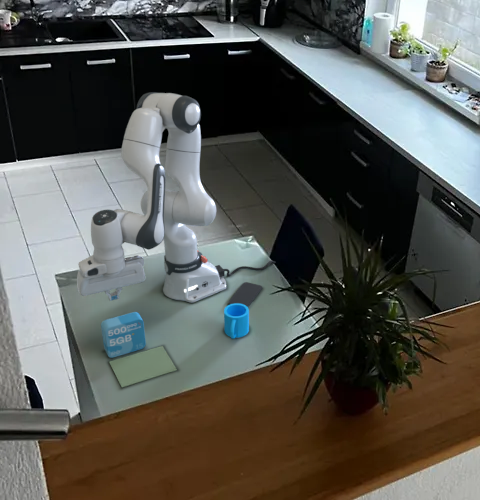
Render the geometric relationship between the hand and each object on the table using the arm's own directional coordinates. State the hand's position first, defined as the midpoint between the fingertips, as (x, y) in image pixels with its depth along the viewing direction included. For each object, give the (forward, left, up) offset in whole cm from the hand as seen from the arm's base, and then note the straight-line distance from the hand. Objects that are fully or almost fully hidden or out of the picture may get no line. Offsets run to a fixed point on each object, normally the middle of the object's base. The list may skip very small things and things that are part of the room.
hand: (113, 298), depth 219 cm
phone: (-46, -2, -15) cm, 49 cm away
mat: (-2, +18, -15) cm, 23 cm away
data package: (0, +8, -15) cm, 17 cm away
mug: (-34, +16, -15) cm, 41 cm away
